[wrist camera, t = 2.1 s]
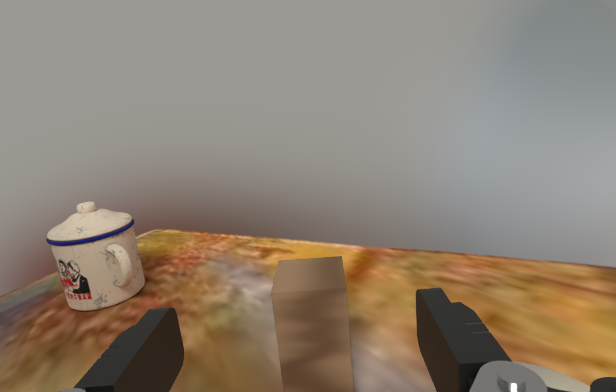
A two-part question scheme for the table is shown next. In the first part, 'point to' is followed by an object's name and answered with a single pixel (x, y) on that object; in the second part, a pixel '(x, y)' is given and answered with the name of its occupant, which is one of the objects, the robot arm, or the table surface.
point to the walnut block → (313, 325)
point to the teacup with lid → (97, 258)
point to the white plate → (557, 379)
